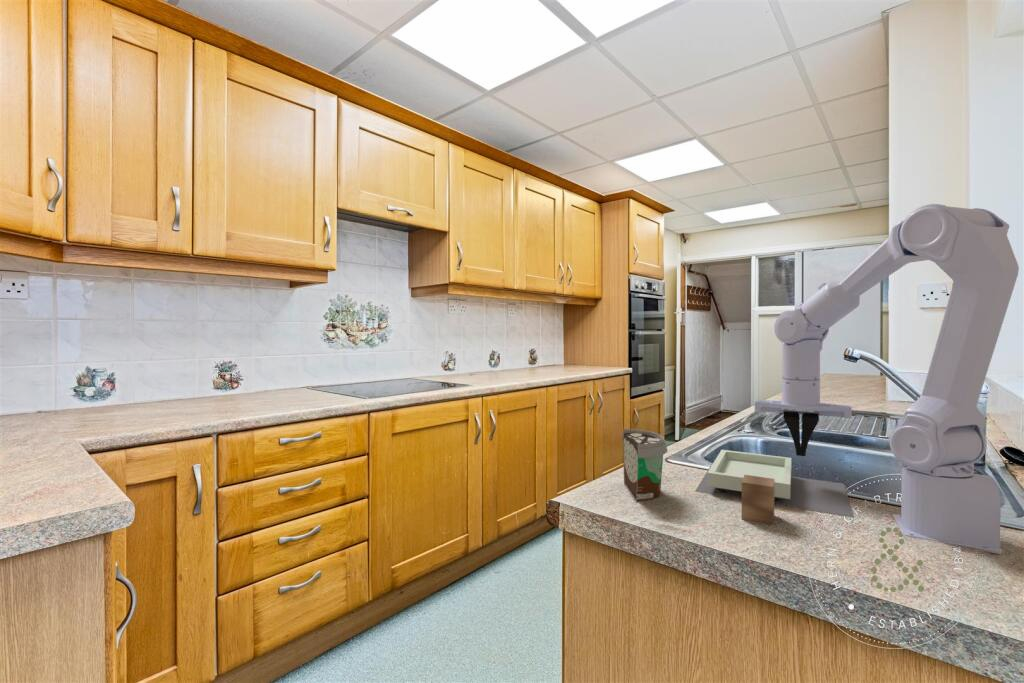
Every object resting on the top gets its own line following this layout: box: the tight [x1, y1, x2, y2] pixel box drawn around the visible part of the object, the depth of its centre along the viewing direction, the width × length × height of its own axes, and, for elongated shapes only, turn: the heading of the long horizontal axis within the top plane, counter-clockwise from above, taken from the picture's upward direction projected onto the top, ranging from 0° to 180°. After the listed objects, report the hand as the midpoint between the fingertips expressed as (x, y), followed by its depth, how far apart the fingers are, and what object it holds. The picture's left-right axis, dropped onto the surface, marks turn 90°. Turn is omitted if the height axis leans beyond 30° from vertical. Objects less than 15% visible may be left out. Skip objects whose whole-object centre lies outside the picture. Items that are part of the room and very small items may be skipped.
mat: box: [694, 465, 855, 519], centre depth 81 cm, size 22×17×1 cm
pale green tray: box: [706, 449, 792, 501], centre depth 82 cm, size 12×17×4 cm
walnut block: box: [741, 475, 775, 526], centre depth 68 cm, size 4×4×6 cm
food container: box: [621, 428, 668, 504], centre depth 80 cm, size 12×6×10 cm, turn 179°
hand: (800, 454), depth 83 cm, fingers closed
